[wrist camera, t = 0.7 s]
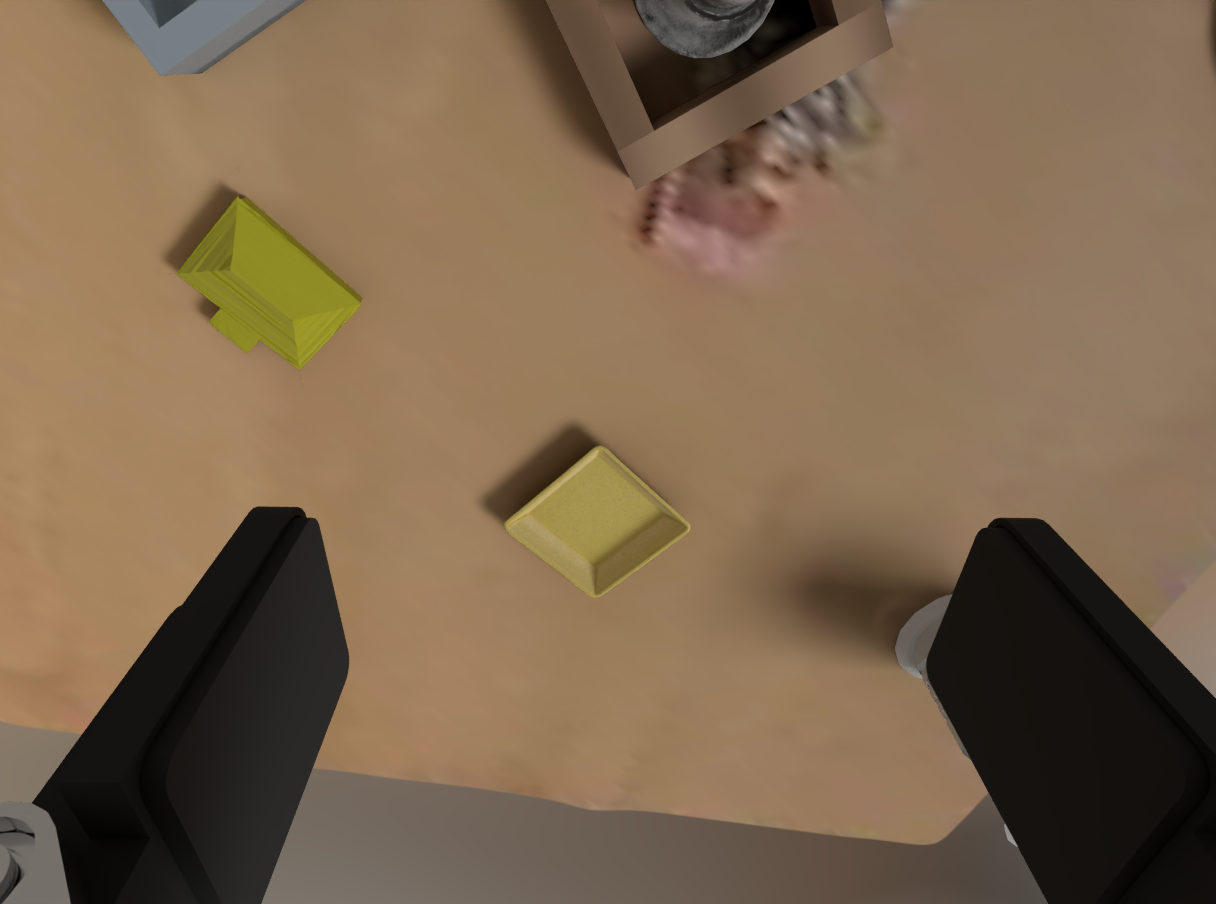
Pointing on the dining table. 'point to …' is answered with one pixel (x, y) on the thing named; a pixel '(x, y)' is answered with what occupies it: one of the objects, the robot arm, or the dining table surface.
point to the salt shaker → (703, 24)
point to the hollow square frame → (795, 70)
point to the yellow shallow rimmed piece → (597, 523)
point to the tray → (194, 28)
